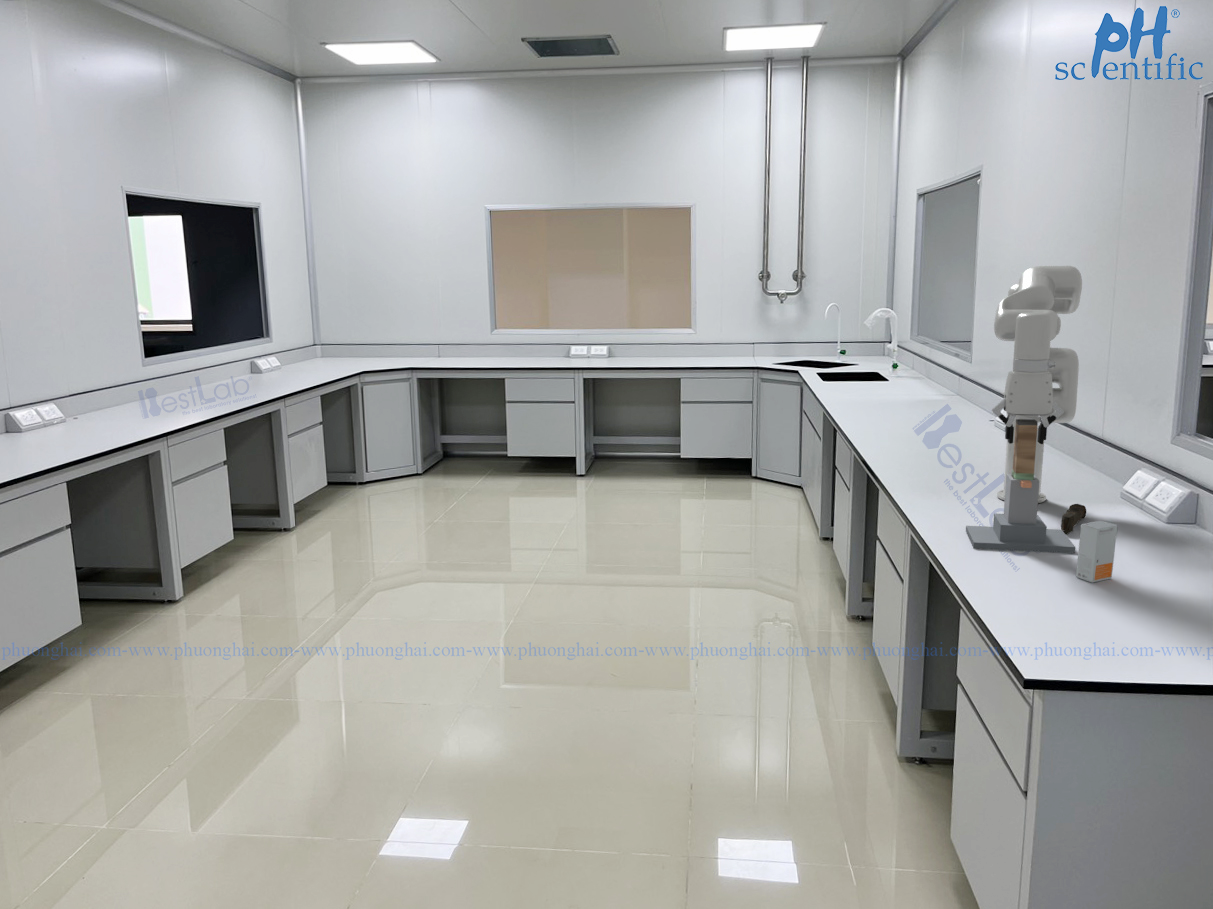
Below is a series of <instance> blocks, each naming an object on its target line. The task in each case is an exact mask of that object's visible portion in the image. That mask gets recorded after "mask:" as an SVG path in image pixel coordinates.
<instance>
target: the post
mask: <svg viewBox="0 0 1213 909" xmlns="http://www.w3.org/2000/svg"><path fill="white" fill-rule="evenodd" d="M1038 423H1039V422H1037V421H1036V420H1035V419H1016V426H1015V441H1014V455H1013V469H1012V477H1013V479H1020V480H1034V466H1035V452H1036V439H1037V427H1038V426H1039V425H1038Z"/></svg>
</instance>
